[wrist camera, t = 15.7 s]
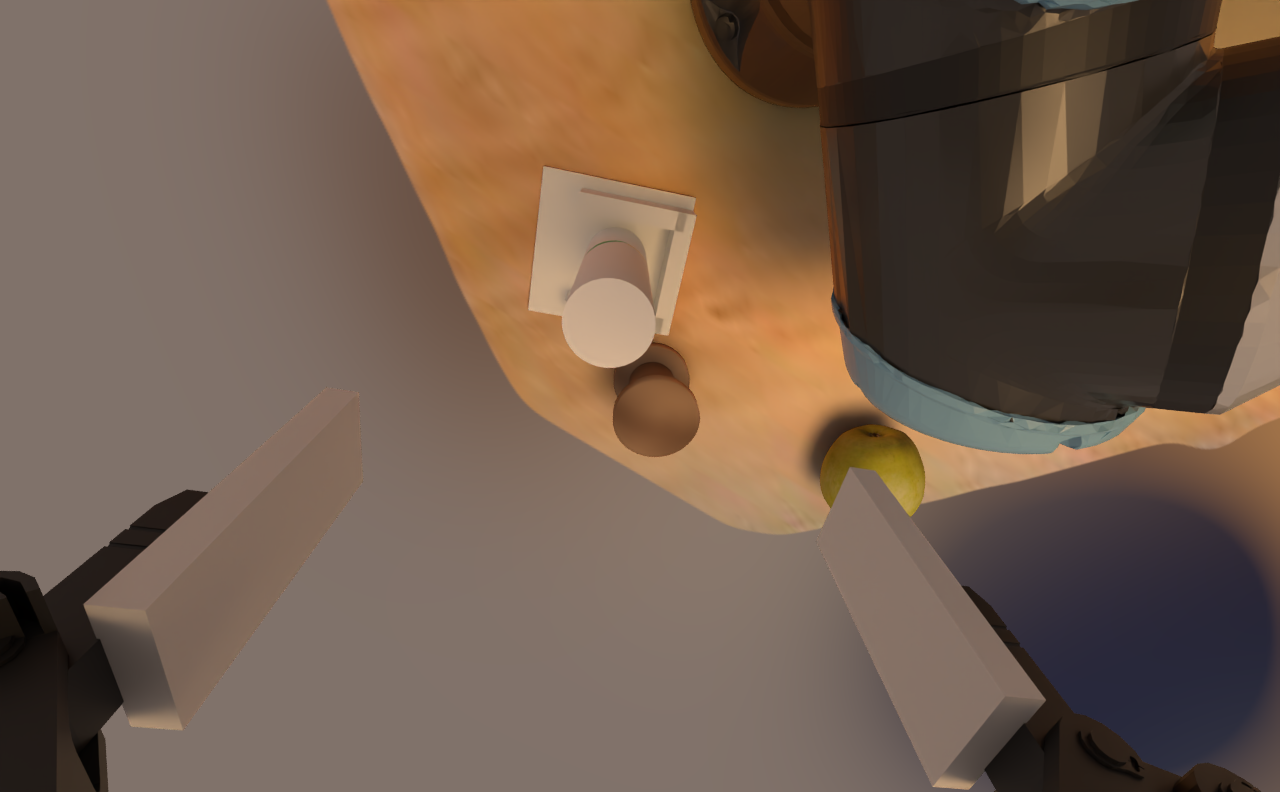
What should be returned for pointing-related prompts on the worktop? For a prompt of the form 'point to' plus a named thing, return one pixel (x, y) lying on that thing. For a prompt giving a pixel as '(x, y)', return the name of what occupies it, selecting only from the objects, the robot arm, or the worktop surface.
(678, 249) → the notch board
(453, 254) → the worktop surface
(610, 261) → the tube
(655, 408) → the wooden cabinet knob
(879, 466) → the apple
